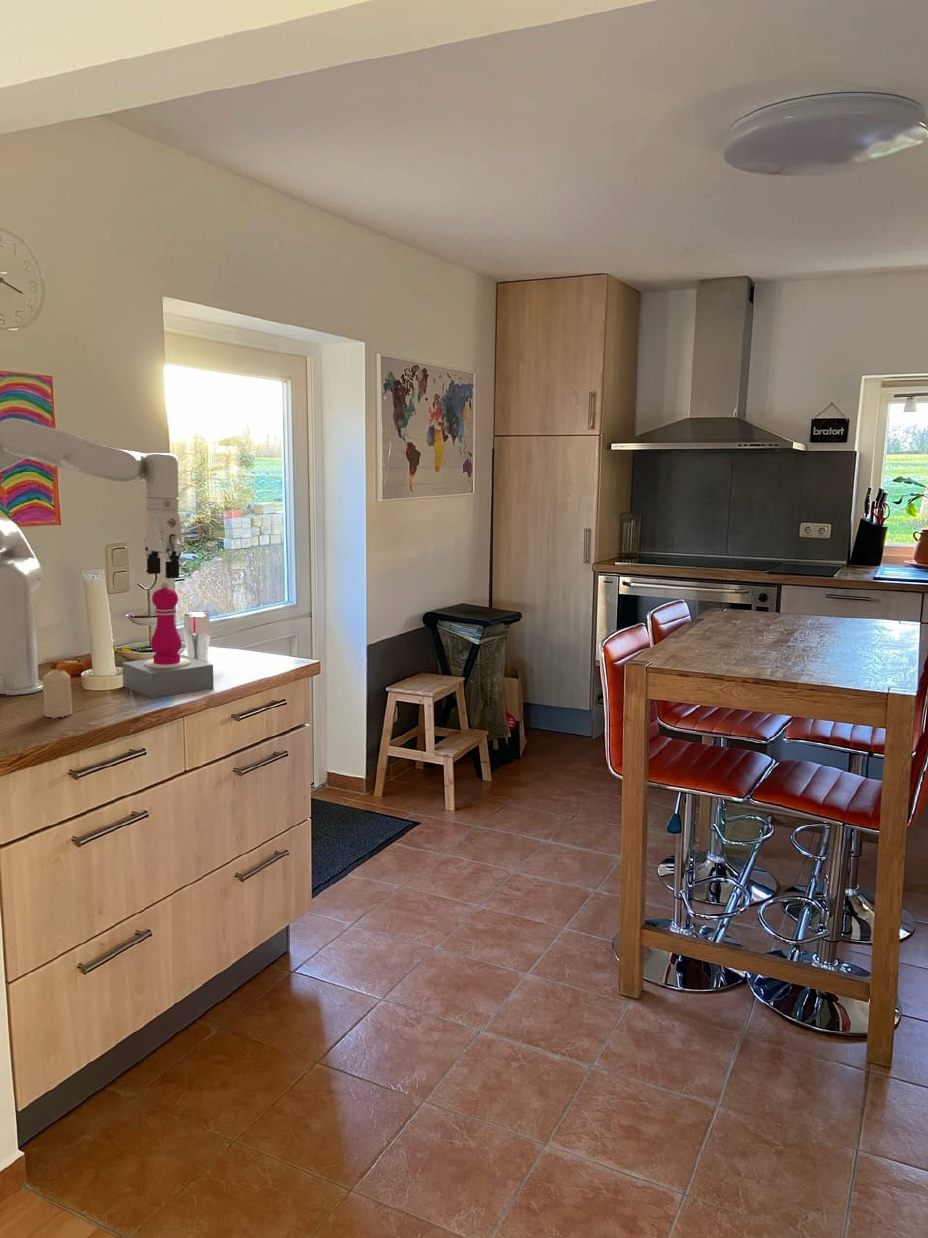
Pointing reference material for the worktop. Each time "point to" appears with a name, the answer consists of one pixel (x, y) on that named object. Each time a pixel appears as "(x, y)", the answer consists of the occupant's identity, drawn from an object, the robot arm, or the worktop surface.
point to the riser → (167, 677)
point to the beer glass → (197, 635)
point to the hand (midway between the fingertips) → (163, 575)
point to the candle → (57, 694)
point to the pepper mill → (165, 627)
